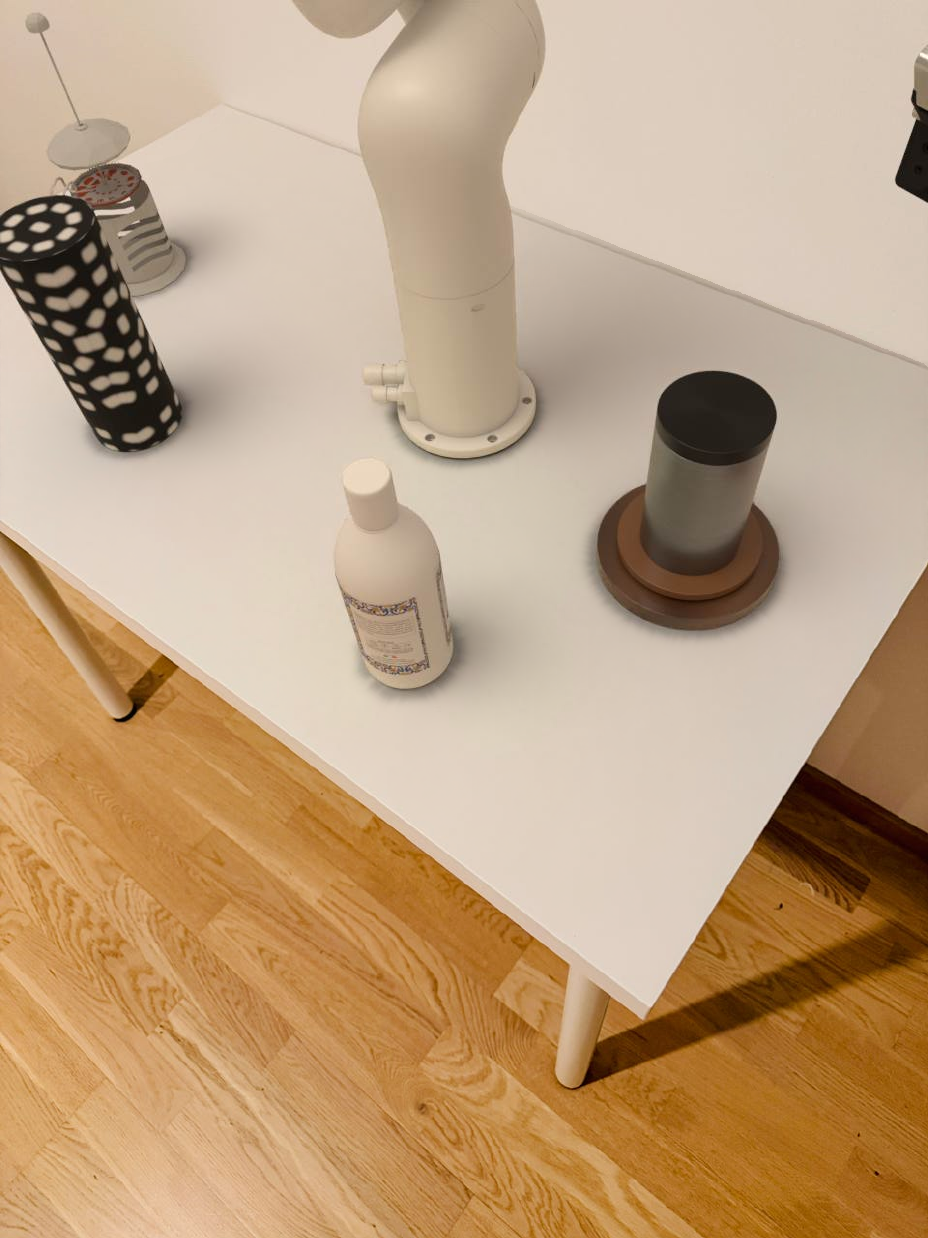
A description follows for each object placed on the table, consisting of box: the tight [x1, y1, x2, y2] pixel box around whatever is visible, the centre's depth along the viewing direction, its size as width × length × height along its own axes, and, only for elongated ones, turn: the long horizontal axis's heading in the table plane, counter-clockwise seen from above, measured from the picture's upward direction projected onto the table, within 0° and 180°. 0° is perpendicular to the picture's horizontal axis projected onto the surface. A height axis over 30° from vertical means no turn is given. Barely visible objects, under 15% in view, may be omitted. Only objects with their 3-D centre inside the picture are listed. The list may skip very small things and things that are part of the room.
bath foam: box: [333, 457, 454, 690], centre depth 61 cm, size 7×7×20 cm
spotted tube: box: [0, 194, 183, 453], centre depth 77 cm, size 8×8×20 cm
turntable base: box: [595, 483, 781, 631], centre depth 71 cm, size 14×14×2 cm
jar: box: [617, 370, 778, 600], centre depth 65 cm, size 11×12×14 cm
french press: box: [24, 12, 187, 297], centre depth 87 cm, size 10×12×25 cm
